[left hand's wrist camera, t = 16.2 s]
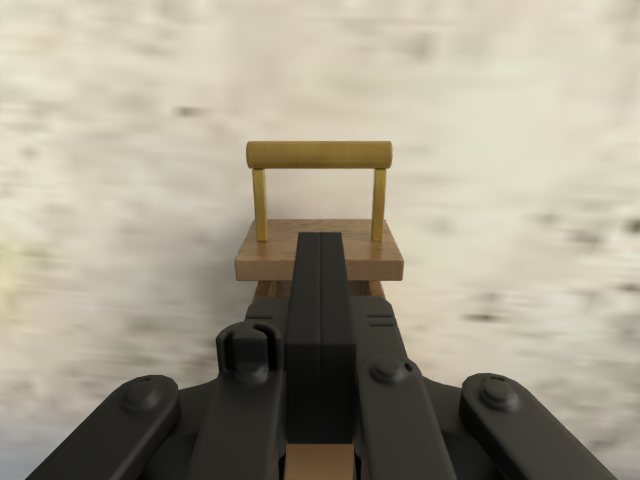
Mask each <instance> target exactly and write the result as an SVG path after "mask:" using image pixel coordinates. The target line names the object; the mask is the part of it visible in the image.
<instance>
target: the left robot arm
mask: <svg viewBox="0 0 640 480" xmlns="http://www.w3.org/2000/svg"><path fill="white" fill-rule="evenodd" d="M216 347H217V356H218V365H219V374H218V377H217V378H216V379H214V380H212V381H210V382H208V383H205V384H201V385H198V386H194V387H190V388H185V389H181V390H178V385H177V384H176V383H175V382H174V380H173V379H171V378H169V377H166V376H163V375H147V376H142V377H138V378H135V379H133V380H131V381H128V382H126V383H124V384H122V385H121V386H120V387H119V388H117V389H116V390H115V391H113V392H112V393H111V394H110V395H109V396H108V397H107V398H106V399H105V400H104V401H103V402H102V403H101V404H100V405H99V406H98V407H97V408H96V409H95V410H94V411H93V412H92V413H91V414H90V415H89V416H88V417H87V418H86V419H85V420H84V421H83V422H82V423H81V424H80V425H79V426H78V427H77V428H76V429H75V430H74V431H73V432H72V433H71V434H70V435H69V436H68V437H67V438H66V439H65V440H64V441H63V442H62V443H61V444H60V445H59V446H58V447H57V448H56V449H55V450H54V451H53V452H52V453H51V454H50V455H49V456H48V457H47V458H46V459H45V460H44V461H43V462H42V463H41V464H40V465H39V466H38V467H37V468H36V469H35V470H34V471H33V472H32V473H31V474H30V475H29V476H28V477H27V478H26V479H25V480H286V468H287V461H286V443H287V444H353V441H354V461H353V480H618V479H617V478H616V477H615V476H614V475H613V474H612V473H611V472H610V471H609V470H608V469H607V468H606V467H605V466H604V465H603V464H602V463H601V462H600V461H599V460H598V459H597V458H596V457H595V456H594V455H593V454H591V453H590V452H589V451H588V450H587V449H586V448H585V447H584V446H583V445H582V444H581V443H580V442H579V441H578V440H577V439H576V438H575V437H574V436H573V435H572V434H571V433H570V432H569V431H568V430H567V429H566V428H565V427H564V426H563V425H562V424H561V423H560V422H559V421H558V420H557V419H556V418H555V417H554V416H553V415H552V414H551V413H550V412H549V411H548V410H547V409H546V408H545V407H544V406H543V405H542V404H541V403H540V402H539V401H538V400H537V399H536V398H535V397H534V396H533V395H532V394H531V393H530V392H529V391H528V390H527V389H526V388H524V387H523V386H522V385H520V384H519V383H518V382H516V381H514V380H511V379H509V378H507V377H505V376H501V375H497V374H492V373H478V374H475V375H472V376H470V377H468V378H467V379H466V380H465V381H464V382H463V384H462V388H458V387H453V386H449V385H445V384H441V383H438V382H434V381H432V380H430V379H428V378H425V377H424V376H422V374H421V371H420V370H419V368H418V367H417V365H416V364H415V363H414V362H412V361H411V360H410V359H408V357H407V354H406V350H405V347H404V344H403V341H402V338H401V334H400V331H399V328H398V327H397V322H396V318H395V315H394V312H393V309H392V306H391V304H390V303H389V302H388V301H387V300H385V299H384V298H383V297H382V296H350V292H349V284H348V277H347V270H346V263H345V255H344V248H343V241H342V233H341V232H299V233H298V241H297V248H296V255H295V262H294V270H293V277H292V284H291V292H290V297H258V298H257V299H256V300H255V301H254V302H253V303H252V304H251V305H250V306H249V307H248V310H247V314H246V319H245V320H244V322H239V323H236V324H233V325H230V326H228V327H227V328H225V329H224V330H222V331H221V332H220V333H219V335H218V336H217V337H216Z"/></svg>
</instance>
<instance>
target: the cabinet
mask: <svg viewBox="0 0 640 480" xmlns="http://www.w3.org/2000/svg"><path fill="white" fill-rule="evenodd" d="M286 461H287V468H286V480H353V461H354V441H353V444H287V443H286Z"/></svg>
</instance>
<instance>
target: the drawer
mask: <svg viewBox="0 0 640 480" xmlns="http://www.w3.org/2000/svg"><path fill="white" fill-rule="evenodd" d="M246 158H247V165H248V167H249V168H250V169H253V170H252V173H253V190H254V206H255V220H254V221H253V223H252V225H251V227H250V229H249V231H248V233H247V236H246V238H245V240H244V242H243V244H242V246H241V248H240V251H239V253H238V255H237V257H236V259H235V270H236V280H237V281H258V284H257V287H256V291H255V294H254V297H253V301H252V303H253V302H254V301H255V300H256V299H257V298H258V297H290V292H291V284H292V277H293V270H294V262H295V255H296V248H297V241H298V233H299V232H341V233H342V241H343V248H344V255H345V263H346V270H347V277H348V284H349V292H350V296H382V297H383V298H384V299H385V300H386V298H385V295H384V292H383V288H382V285H381V281H401V280H402V279H403V268H404V260H403V257H402V255H401V253H400V251H399V249H398V246H397V244H396V242H395V240H394V238H393V235H392V233H391V231H390V229H389V227H388V224H387V222H386V220H384V205H385V188H386V169H389V168H390V167H391V164H392V144H391V142H390V141H249V142H248V143H247V147H246ZM265 169H374V181H373V202H372V220H267V204H266V184H265Z"/></svg>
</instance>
